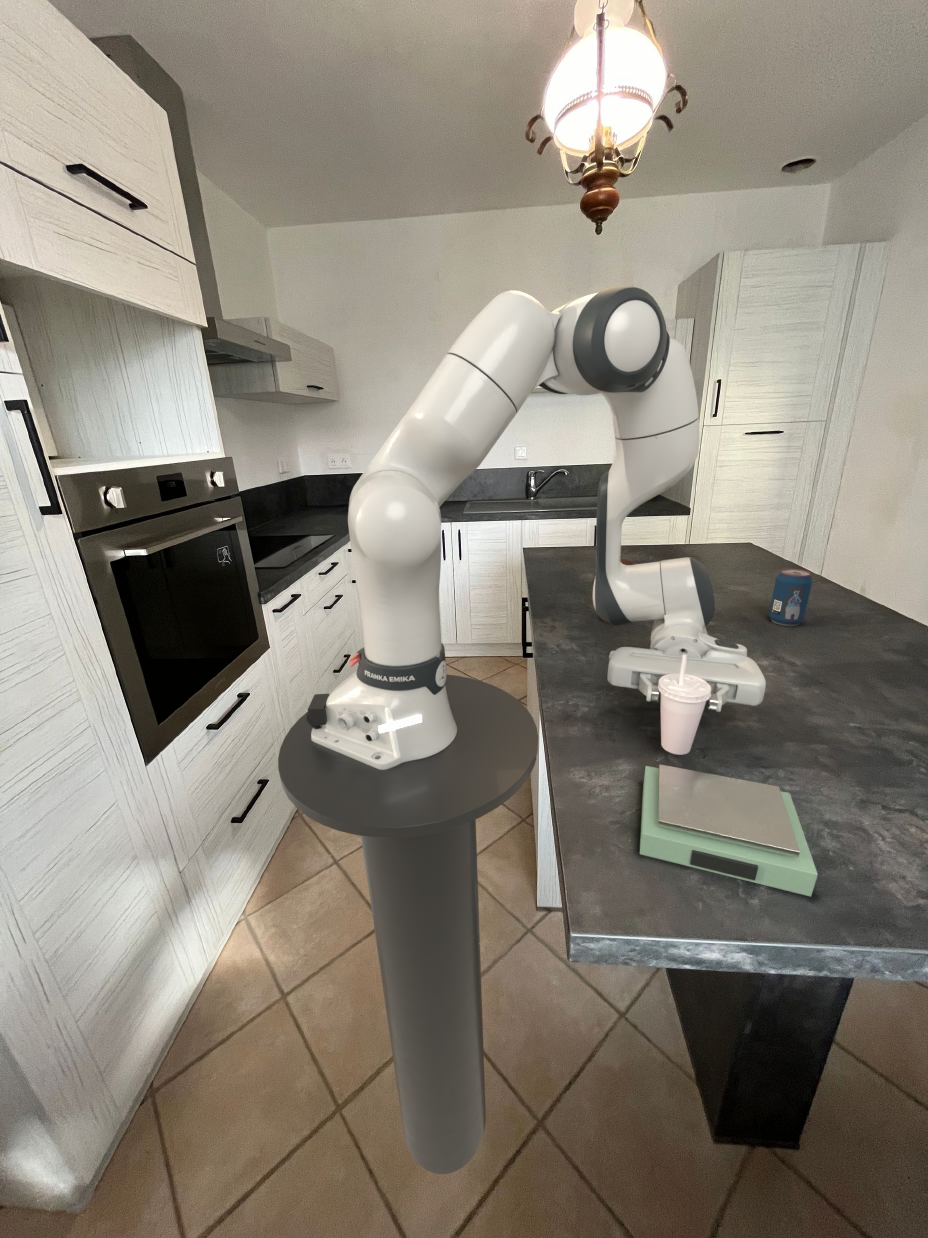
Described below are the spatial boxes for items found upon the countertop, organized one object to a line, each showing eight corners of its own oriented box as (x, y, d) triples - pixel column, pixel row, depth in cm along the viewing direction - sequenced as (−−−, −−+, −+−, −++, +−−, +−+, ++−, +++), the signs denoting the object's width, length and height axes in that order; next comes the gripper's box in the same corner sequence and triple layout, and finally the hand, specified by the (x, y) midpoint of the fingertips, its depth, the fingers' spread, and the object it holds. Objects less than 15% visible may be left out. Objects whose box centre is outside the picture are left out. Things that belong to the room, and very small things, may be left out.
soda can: (783, 614, 118) (794, 566, 113) (810, 624, 111) (822, 574, 107) (760, 618, 116) (770, 569, 112) (785, 628, 110) (797, 577, 105)
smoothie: (641, 736, 69) (652, 646, 64) (682, 730, 70) (695, 641, 65) (668, 764, 63) (682, 668, 58) (712, 756, 64) (729, 661, 59)
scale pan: (657, 826, 52) (658, 820, 52) (658, 769, 61) (659, 764, 61) (798, 858, 48) (800, 852, 48) (777, 792, 57) (779, 786, 56)
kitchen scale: (639, 856, 53) (642, 835, 52) (643, 784, 64) (645, 765, 63) (812, 900, 48) (819, 877, 47) (784, 812, 58) (789, 792, 57)
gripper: (612, 631, 78) (603, 669, 66) (758, 647, 71) (777, 692, 59) (608, 666, 80) (599, 709, 68) (750, 685, 73) (767, 736, 61)
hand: (683, 702), depth 63 cm, fingers closed on smoothie, 6 cm apart
